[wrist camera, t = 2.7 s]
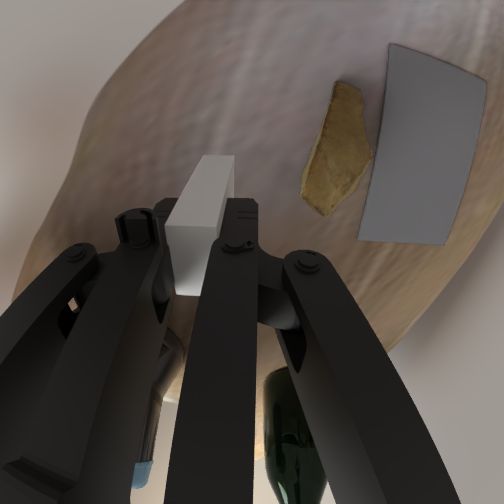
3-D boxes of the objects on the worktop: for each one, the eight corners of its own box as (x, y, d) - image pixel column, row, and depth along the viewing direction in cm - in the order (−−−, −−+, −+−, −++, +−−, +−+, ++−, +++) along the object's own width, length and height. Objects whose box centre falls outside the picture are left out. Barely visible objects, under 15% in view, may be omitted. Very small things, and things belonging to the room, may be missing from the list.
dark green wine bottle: (257, 391, 49) (255, 562, 22) (270, 362, 43) (272, 572, 16) (311, 394, 50) (323, 555, 23) (332, 366, 44) (354, 559, 17)
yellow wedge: (325, 46, 17) (239, 141, 20) (423, 96, 13) (316, 217, 16) (366, 116, 25) (304, 185, 29) (432, 165, 21) (361, 243, 25)
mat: (356, 238, 29) (357, 240, 29) (389, 43, 17) (390, 43, 17) (443, 243, 29) (444, 245, 29) (485, 82, 18) (487, 82, 17)
